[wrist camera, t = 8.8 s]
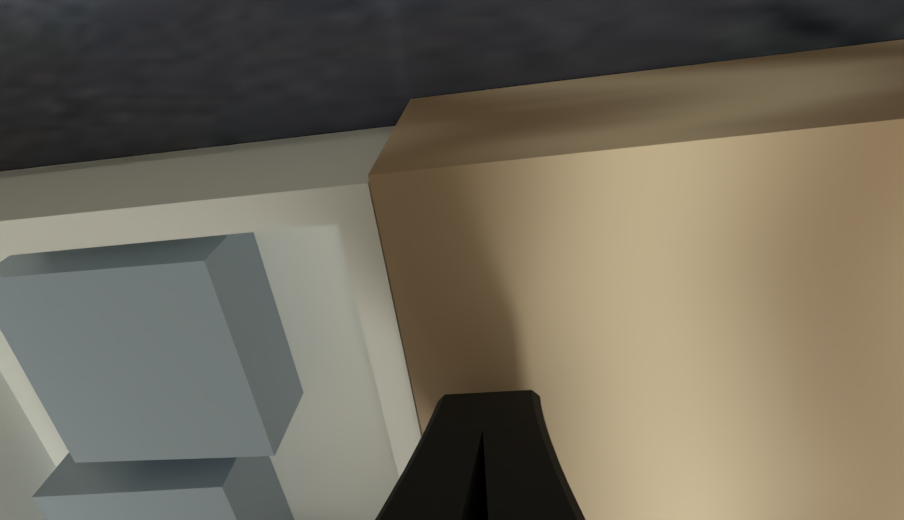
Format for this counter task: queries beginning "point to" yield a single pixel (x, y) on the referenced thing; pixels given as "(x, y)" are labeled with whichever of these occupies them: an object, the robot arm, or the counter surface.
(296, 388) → the slate tile
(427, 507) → the robot arm
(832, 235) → the maple bench
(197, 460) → the slate tile
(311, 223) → the tray
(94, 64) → the counter surface
